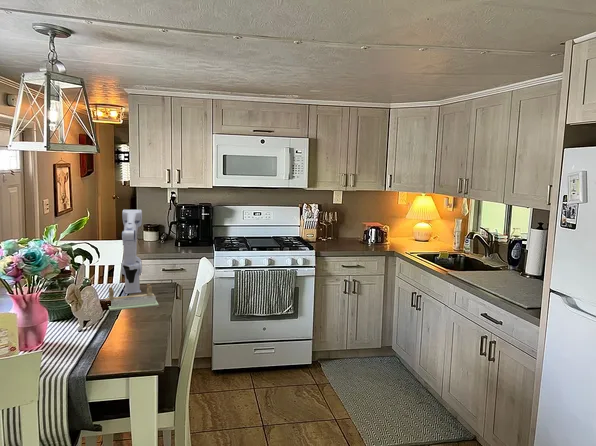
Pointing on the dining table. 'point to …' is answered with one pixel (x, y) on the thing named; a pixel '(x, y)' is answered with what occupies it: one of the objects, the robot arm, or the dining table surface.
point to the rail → (133, 301)
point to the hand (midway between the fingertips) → (130, 281)
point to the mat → (133, 306)
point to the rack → (111, 296)
